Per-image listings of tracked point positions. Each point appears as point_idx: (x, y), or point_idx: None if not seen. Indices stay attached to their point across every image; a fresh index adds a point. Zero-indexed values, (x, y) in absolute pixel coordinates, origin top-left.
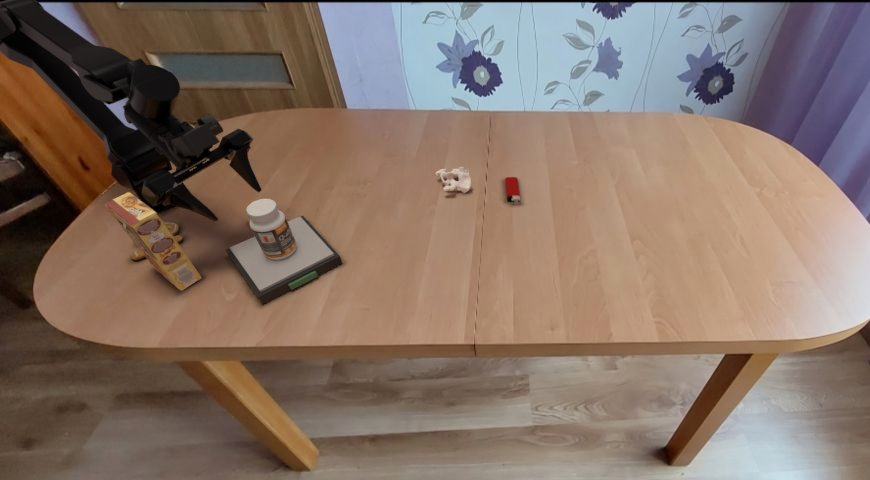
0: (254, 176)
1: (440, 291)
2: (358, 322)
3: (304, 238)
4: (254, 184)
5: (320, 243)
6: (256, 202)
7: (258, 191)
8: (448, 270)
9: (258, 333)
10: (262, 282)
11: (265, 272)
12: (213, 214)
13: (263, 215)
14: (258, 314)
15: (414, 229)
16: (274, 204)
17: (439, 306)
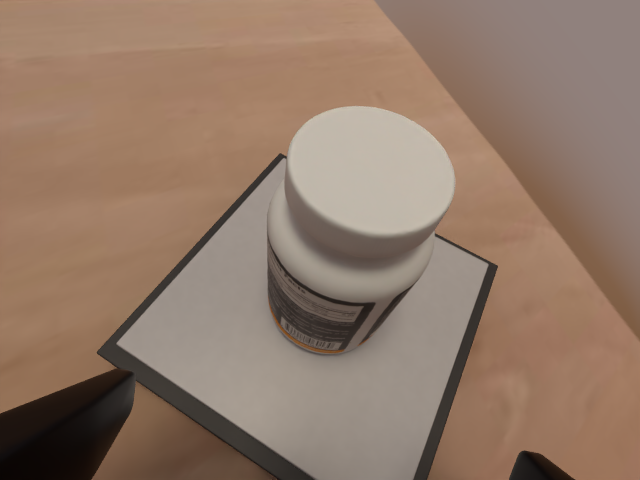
0: (7, 415)
1: (291, 19)
2: (412, 98)
3: (246, 257)
4: (102, 401)
5: (255, 203)
6: (348, 205)
7: (131, 400)
8: (237, 16)
9: (542, 242)
10: (463, 273)
11: (430, 287)
12: (553, 475)
13: (420, 128)
14: (507, 272)
15: (114, 79)
16: (325, 116)
17: (324, 17)
